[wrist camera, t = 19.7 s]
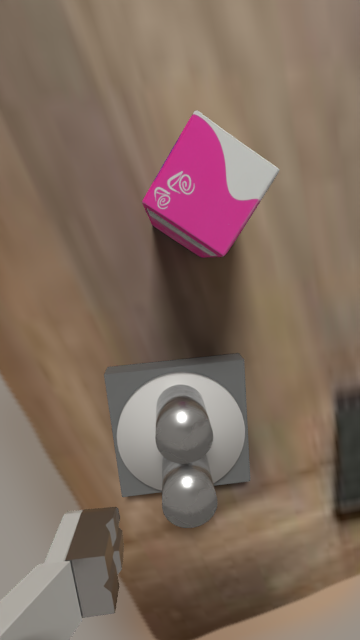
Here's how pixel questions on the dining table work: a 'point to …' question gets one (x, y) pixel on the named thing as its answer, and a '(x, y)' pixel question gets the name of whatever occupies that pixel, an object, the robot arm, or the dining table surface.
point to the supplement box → (207, 188)
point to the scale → (140, 417)
